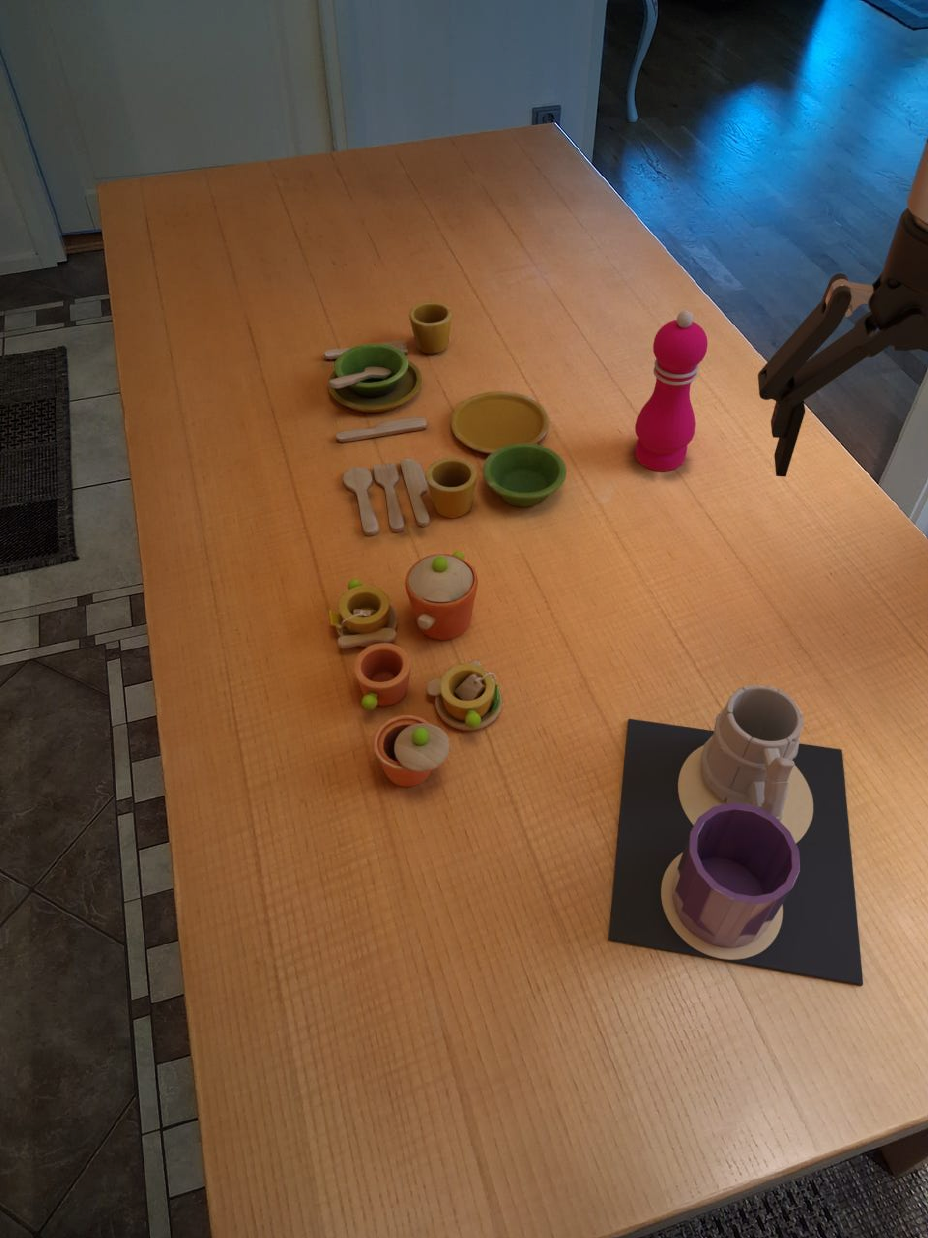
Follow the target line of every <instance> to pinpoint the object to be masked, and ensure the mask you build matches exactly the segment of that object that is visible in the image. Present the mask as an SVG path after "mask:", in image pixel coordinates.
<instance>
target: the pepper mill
mask: <svg viewBox="0 0 928 1238" xmlns="http://www.w3.org/2000/svg"><path fill="white" fill-rule="evenodd" d="M708 346H709V344H708V337H707V333H706V332H705V330H704V329H703V328H702V327H701V325H699V323H697V322H694V316H693V313H692V312H691V311H688V310H683V311H681V312H680V313H678V315H677V317H676V319H674V320H671V321H668V322H667V323H665V324H664V325H662V327H660V328H659V329H658V331H657V332H656V334H655V337H654V338H653V344H652V351H653V355H654V356H655V361H654V367H653V375H654V377H655V386H654V388H653V392H652V394H651V395H650V397H649V399H647V401H646V403H644V404H643V406H642V408H641V409H640V411H639V413H638V415H637V418H636V422H635V427H634V428H635V429H634V431H635V435H636V437H637V440H636V447H635V450H634V451H635V452H634V453H635V454H634V455H635V458H636V460H637V461H638V463H639V464H640V465H642V466H643V467H645V468H647V469H649V470H653V471H657V472H668V471H669V472H670V471H673V470H675V469H678V468H679V467H681V466H682V465H683V464H684V462H685V460H686V455H687V451H688V445H689V444H690V443H691V442H692V441H693V440H694V438H695V434H696V433H695V432H696V415H695V412H694V408H693V404H692V401H691V395H690V394H691V385H692V383H693V382H694V381H695V380H696V379H697V377H698V371H699V368H700V365H699V364H700V363H701V362H702V361H703V360H704V358H705V357H706V354H707V352H708Z"/></svg>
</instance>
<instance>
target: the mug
mask: <svg viewBox="0 0 928 1238" xmlns="http://www.w3.org/2000/svg"><path fill="white" fill-rule="evenodd" d="M803 728H804V716H803V712H802V711H801V710H800V708H799V706H798V704H797V703H796V701H795V700H794V699H793V697H791V696H790V694H788V693H787V692H785V691H784V690H782V689H781V688H777V687H773V686H770V685H764V686H760V685H758V684H749V685H745V686H742V687H739V688H737V689H736V690H735V691H733V693H732V694H731V695H730V696H729V698H728V699H727V702H726V704H725V707H723V709H722V710H721V711H720V712H719V713H718V714H717V715H716V717H715V721H714V728H713V731H714V735H713V736H711V737H710V738H709V740H708V741H707V742H706V743H705V744H704V748H703V751H702V755H701V765H702V771H703V772H702V775H703V778H704V781H705V783H706V784H707V786H708V787H709V788H710V789H711V791H712V792H713V793H714V794H715V795H716V796H717V797H718V798H720V799H721V800H723V801H725V800H726V803H728V804H729V803H739V804H746V805H752V806H756V807H758V808H760V809H762V810H764V811H766V812H768V813H769V814H771V815H773V816H775V817H776V818H777V819H778V820H779V821H781V819H782V816H783V815H782V810H783V807H784V802H785V800H786V794H787V789H788V783H789V782H788V779H789V776H790V773H791V770H792V768H793V767H794V765H795V764H794V761H792V760H793V758H795V757H796V755H797V753H798V746H799V743H800V736H801V733H802V731H803Z"/></svg>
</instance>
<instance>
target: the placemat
mask: <svg viewBox="0 0 928 1238" xmlns="http://www.w3.org/2000/svg"><path fill="white" fill-rule="evenodd" d="M713 735H714V730H710V729H703V728H697V727H690V726H682V725H676V724H668V723H663V722H662V723H661V722H655V721H648V720H642V719H641V720H640V719H634V718H627V728H626V740H625V749H624V750H625V751H624V761H623V773H622V783H621V795H620V806H619V817H618V818H619V819H618V826H617V827H618V828H617V838H616V851H615V861H614V870H613V871H614V873H613V883H612V884H613V885H612V893H611V903H610V904H611V906H610V916H609V927H608V937H607V938H608V939H607V940H608V941H610V942H615V943H621V944H626V945H631V946H632V945H633V946H639V947H644V948H649V949H654V950H660V951H666V952H671V953H676V954H682V955H688V956H692V957H693V956H694V957H699V958H705V959H710V960H715V961H721V962H726V963H732V964H738V965H743V966H747V967H748V966H750V967H754V968H760V969H765V970H772V971H777V972H783V973H789V974H793V975H798V976H799V975H800V976H805V977H810V978H815V979H821V980H827V981H833V982H837V983H843V984H848V985H855V986H860V987H863V985H864V977H863V965H862V956H861V944H860V932H859V924H858V923H859V922H858V910H857V901H856V889H855V880H854V879H855V878H854V868H853V858H852V846H851V835H850V824H849V811H848V802H847V792H846V790H847V789H846V781H845V779H846V778H845V770H844V769H845V768H844V758H843V749H841V748H835V747H827V746H821V745H813V744H807V743H800V742H799V746H798V753H797V755H796V757H795V758H793V760H792V761H794V764H795V765H794V767H793V768H792V770H791V773H790V776H789V779H788V782H789V783H788V789H787V794H786V800H785V802H784V807H783V810H782V815H783V816H782V819H781V821H780V822H781V823H782V824H783V825H784V826H785V827H786V828H787V829H788V830H789V832H790V833H791V835H792V837H793V839H794V841H795V843H796V845H797V847H798V849H799V857H800V872H799V874H798V877H797V879H796V881H795V883H794V886H793V888H792V889H791V891H790V893H789V894H788V896H787V897H786V899H785V901H784V902H783V904H782V906H781V907H780V909H779V911H778V912H777V914H776V915H775V917H774V919H773V920H772V922H771V924H770V925H769V927H768V929H767V930H766V931H765V932H764V933H763V934H762V935H761V936H760V937H759V938H758V939H757V940H755V941H754V942H752V943H750V944H748V945H745V946H742V947H736V948H724V947H718V946H714V945H712V944H709V943H707V942H705V941H703V940H701V939H699V938H698V937H696V936H695V935H694V934H692V933H691V932H690V931H689V930H688V929H687V928H686V927H685V926H684V924H683V923H682V922H681V920H680V918H679V917H678V915H677V913H676V910H675V908H674V904H673V900H672V885H673V879H674V876H675V873H676V870H677V868H678V865H679V862H680V859H681V857H682V854H683V851H684V848H685V846H686V843H687V840H688V837H689V835H690V832H691V830H692V828H693V826H694V825H695V823H696V821H697V819H698V818H699V816H701V815H702V814H704V813H705V812H707V811H708V810H709V809H711V808H712V807H714V806H719V805H724V804H728V803H726V800H725V801H723V800H721V799H720V798H718V797H717V796H716V795H715V794H714V793H713V792H712V791H711V789H710V788H709V787H708V786H707V784H706V783H705V781H704V778H703V775H702V772H703V771H702V765H701V755H702V751H703V748H704V744H705V743H706V742H707V741H708V740H709V738H710V737H711V736H713Z"/></svg>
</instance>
